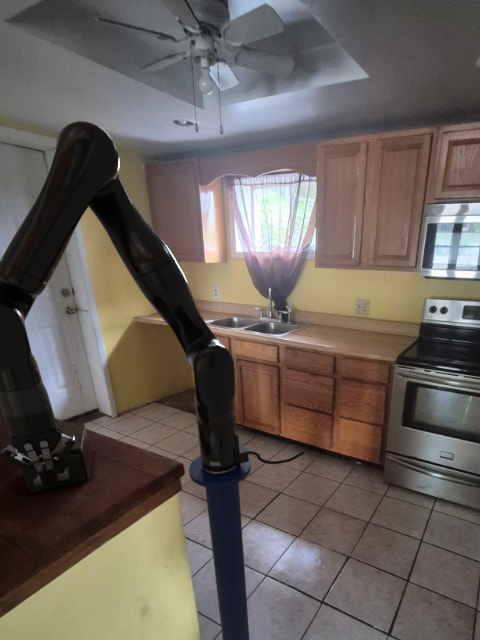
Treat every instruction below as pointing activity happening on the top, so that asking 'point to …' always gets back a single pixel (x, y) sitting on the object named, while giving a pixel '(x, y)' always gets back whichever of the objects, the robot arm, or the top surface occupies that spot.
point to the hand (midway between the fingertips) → (51, 483)
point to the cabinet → (74, 448)
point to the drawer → (59, 473)
